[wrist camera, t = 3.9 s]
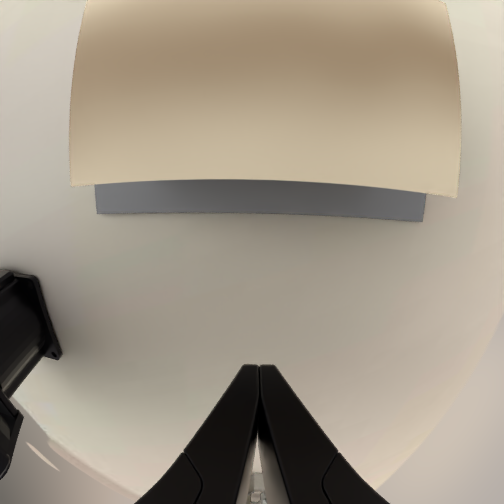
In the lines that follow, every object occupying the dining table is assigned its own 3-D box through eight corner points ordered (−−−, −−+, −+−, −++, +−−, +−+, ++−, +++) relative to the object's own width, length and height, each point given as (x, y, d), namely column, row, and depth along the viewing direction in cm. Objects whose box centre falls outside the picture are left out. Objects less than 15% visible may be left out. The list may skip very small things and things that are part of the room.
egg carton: (206, 465, 21) (201, 499, 17) (285, 470, 21) (287, 504, 17) (207, 497, 24) (204, 523, 21) (268, 502, 25) (268, 528, 21)
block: (374, 175, 12) (457, 198, 6) (149, 168, 12) (71, 186, 6) (374, 52, 10) (445, 3, 4) (154, 45, 10) (90, -12, 4)
